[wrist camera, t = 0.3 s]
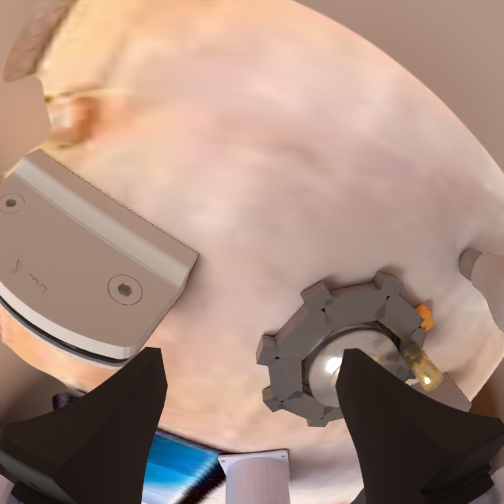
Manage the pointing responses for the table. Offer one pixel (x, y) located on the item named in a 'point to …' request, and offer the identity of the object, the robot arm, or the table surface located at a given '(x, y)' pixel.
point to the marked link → (447, 394)
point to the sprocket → (337, 316)
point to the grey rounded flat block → (83, 265)
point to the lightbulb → (486, 279)
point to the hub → (331, 352)
